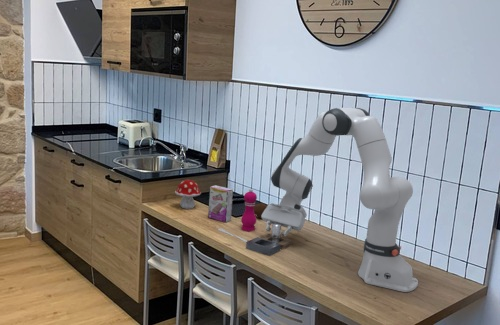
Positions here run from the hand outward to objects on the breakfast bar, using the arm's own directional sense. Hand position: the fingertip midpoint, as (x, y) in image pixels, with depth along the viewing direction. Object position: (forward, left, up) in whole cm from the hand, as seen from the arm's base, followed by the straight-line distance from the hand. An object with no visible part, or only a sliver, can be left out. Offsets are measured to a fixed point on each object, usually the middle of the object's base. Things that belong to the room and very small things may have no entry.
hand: (275, 232), depth 225 cm
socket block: (0, +9, -5) cm, 11 cm away
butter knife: (+19, +5, -6) cm, 20 cm away
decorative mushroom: (+64, -14, -5) cm, 66 cm away
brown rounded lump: (+26, -28, -5) cm, 39 cm away
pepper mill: (+20, -8, -5) cm, 22 cm away
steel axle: (0, -1, -5) cm, 5 cm away
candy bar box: (+39, -10, -5) cm, 41 cm away
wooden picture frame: (0, -1, -5) cm, 5 cm away
